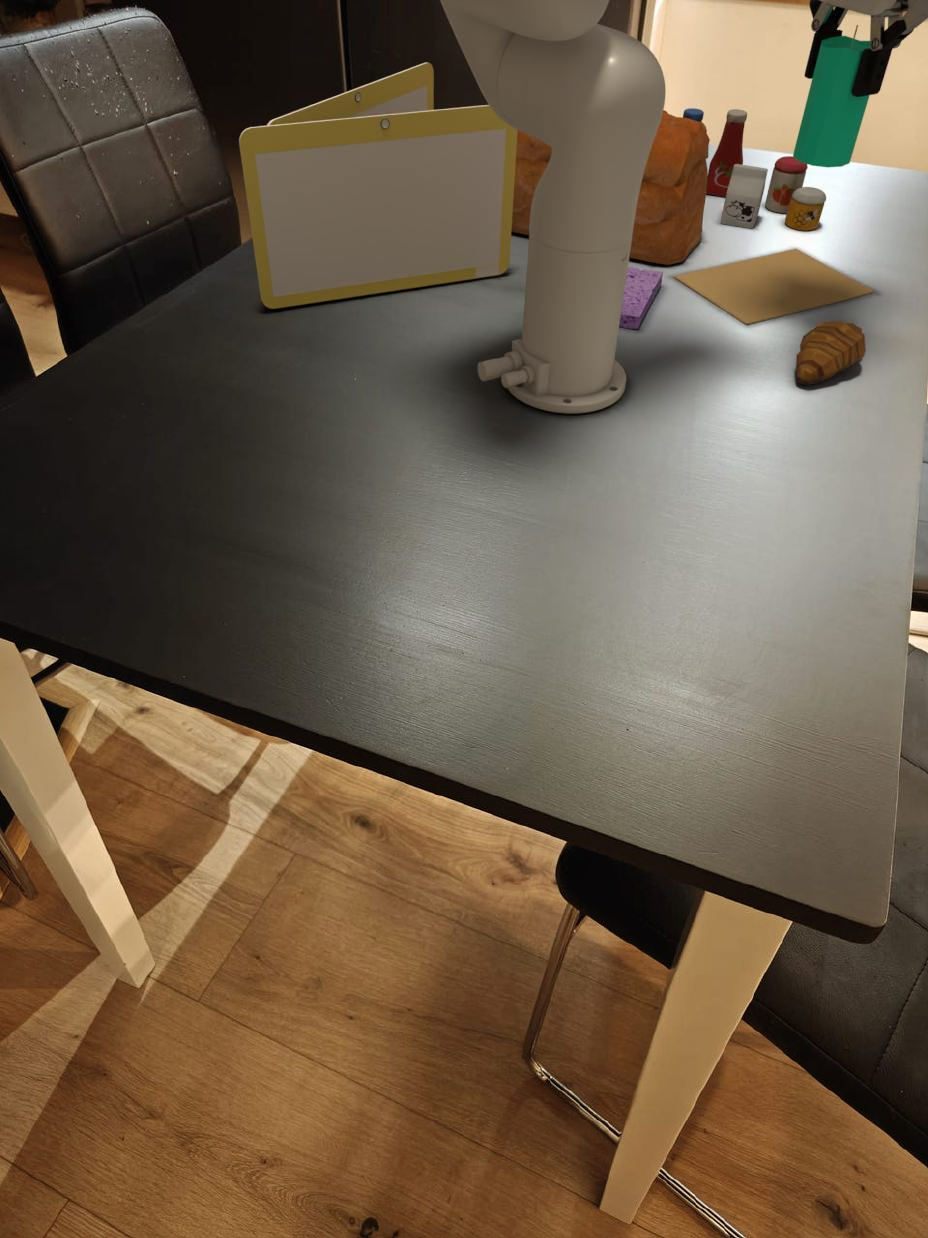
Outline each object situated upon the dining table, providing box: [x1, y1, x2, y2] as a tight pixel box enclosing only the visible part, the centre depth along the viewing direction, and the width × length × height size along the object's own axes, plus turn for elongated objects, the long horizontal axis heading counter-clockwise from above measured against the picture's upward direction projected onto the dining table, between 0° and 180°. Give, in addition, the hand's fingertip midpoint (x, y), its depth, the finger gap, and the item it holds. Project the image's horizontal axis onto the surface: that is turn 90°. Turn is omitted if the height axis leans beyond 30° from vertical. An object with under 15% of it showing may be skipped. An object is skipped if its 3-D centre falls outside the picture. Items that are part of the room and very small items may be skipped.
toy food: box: [663, 107, 827, 231], centre depth 126 cm, size 27×13×12 cm, turn 67°
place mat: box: [673, 248, 875, 326], centre depth 112 cm, size 20×14×1 cm
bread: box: [511, 112, 711, 266], centre depth 118 cm, size 14×27×15 cm, turn 63°
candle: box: [792, 24, 871, 168], centre depth 92 cm, size 6×6×12 cm
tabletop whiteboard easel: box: [238, 61, 518, 310], centre depth 105 cm, size 35×22×20 cm, turn 149°
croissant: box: [795, 320, 867, 386], centre depth 96 cm, size 14×7×5 cm, turn 141°
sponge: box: [619, 266, 664, 330], centre depth 107 cm, size 7×13×2 cm, turn 159°
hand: (841, 83), depth 91 cm, fingers closed on candle, 6 cm apart
